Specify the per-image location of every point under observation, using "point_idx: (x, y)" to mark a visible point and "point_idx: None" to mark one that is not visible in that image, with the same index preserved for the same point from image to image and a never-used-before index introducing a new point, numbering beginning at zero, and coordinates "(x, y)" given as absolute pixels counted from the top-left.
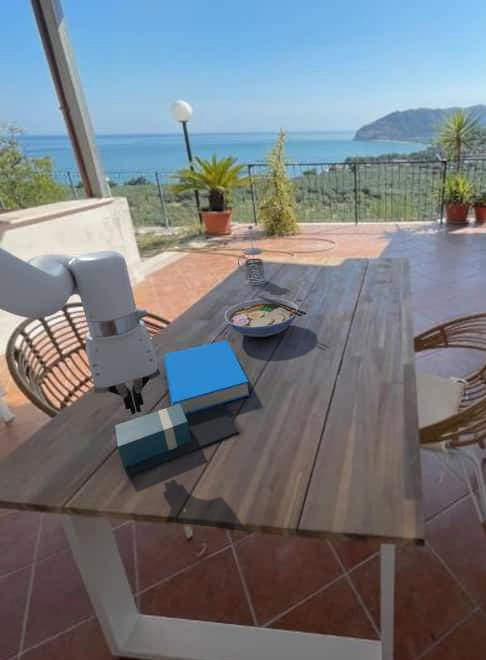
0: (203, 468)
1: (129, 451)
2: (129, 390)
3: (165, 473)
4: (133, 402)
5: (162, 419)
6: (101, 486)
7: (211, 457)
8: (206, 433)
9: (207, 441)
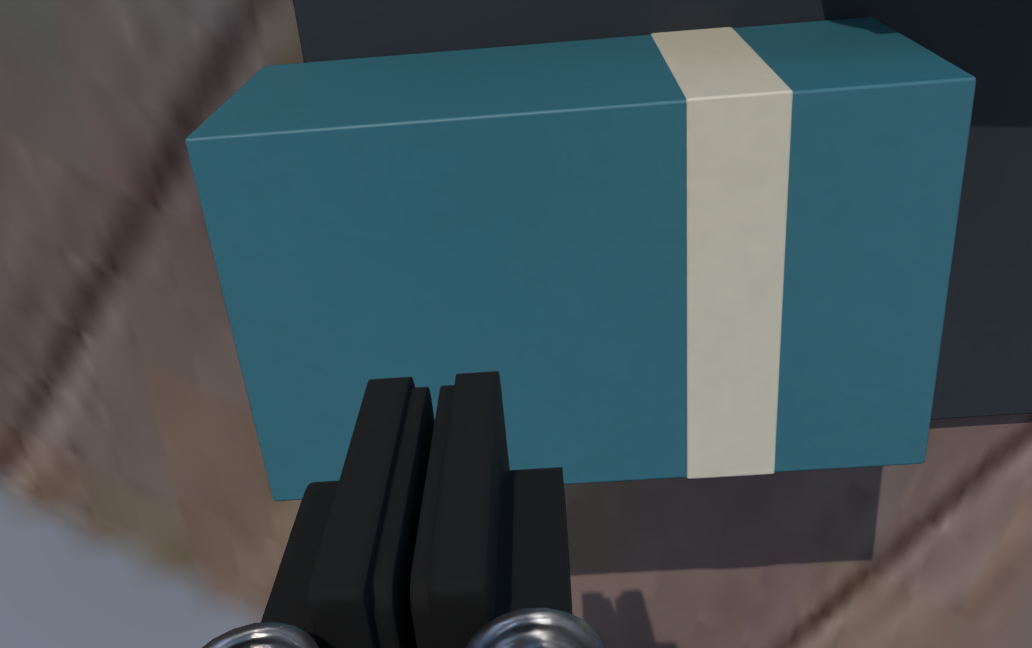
0: (829, 592)
1: None
2: (380, 638)
3: (598, 523)
4: (426, 462)
5: (706, 312)
6: (192, 438)
7: (911, 531)
8: (991, 298)
9: (956, 397)
